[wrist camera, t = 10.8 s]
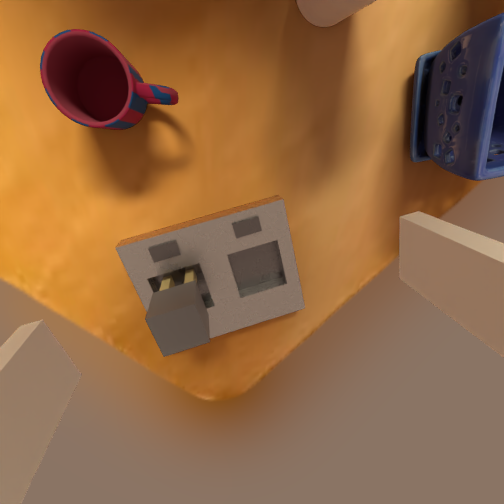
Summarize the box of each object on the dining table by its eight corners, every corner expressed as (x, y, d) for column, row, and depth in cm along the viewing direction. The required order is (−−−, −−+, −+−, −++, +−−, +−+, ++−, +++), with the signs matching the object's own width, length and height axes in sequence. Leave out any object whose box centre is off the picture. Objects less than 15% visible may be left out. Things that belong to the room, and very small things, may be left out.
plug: (158, 275, 36) (145, 319, 27) (195, 263, 36) (194, 303, 27) (171, 306, 38) (163, 356, 29) (207, 295, 38) (210, 342, 29)
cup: (75, 44, 26) (38, 15, 20) (184, 75, 29) (180, 58, 23) (75, 120, 29) (41, 116, 22) (175, 143, 31) (170, 145, 25)
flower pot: (485, 150, 38) (600, 155, 27) (395, 170, 37) (477, 184, 26) (502, 31, 33) (655, -22, 22) (398, 51, 31) (503, 5, 21)
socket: (121, 240, 34) (114, 249, 31) (277, 195, 35) (284, 199, 32) (168, 340, 40) (166, 354, 38) (299, 298, 42) (306, 309, 39)
